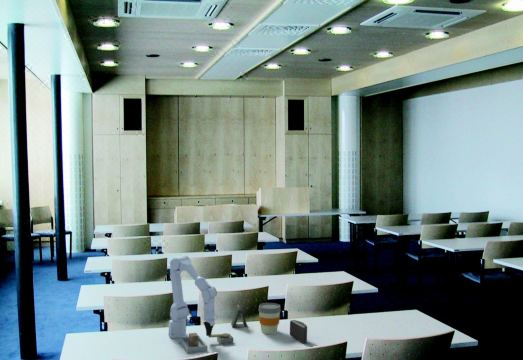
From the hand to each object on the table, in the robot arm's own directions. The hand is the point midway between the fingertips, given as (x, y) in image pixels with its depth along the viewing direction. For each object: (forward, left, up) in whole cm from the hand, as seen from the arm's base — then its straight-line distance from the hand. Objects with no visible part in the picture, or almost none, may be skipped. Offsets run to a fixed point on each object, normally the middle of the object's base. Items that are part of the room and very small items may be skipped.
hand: (208, 335), depth 318 cm
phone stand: (+25, +24, -5) cm, 35 cm away
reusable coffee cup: (+38, +9, -5) cm, 40 cm away
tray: (-9, -2, -5) cm, 10 cm away
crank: (+5, +1, -2) cm, 5 cm away
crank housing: (+9, +4, -5) cm, 11 cm away
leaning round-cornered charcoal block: (+48, -9, -5) cm, 49 cm away
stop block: (-9, -2, -4) cm, 10 cm away
